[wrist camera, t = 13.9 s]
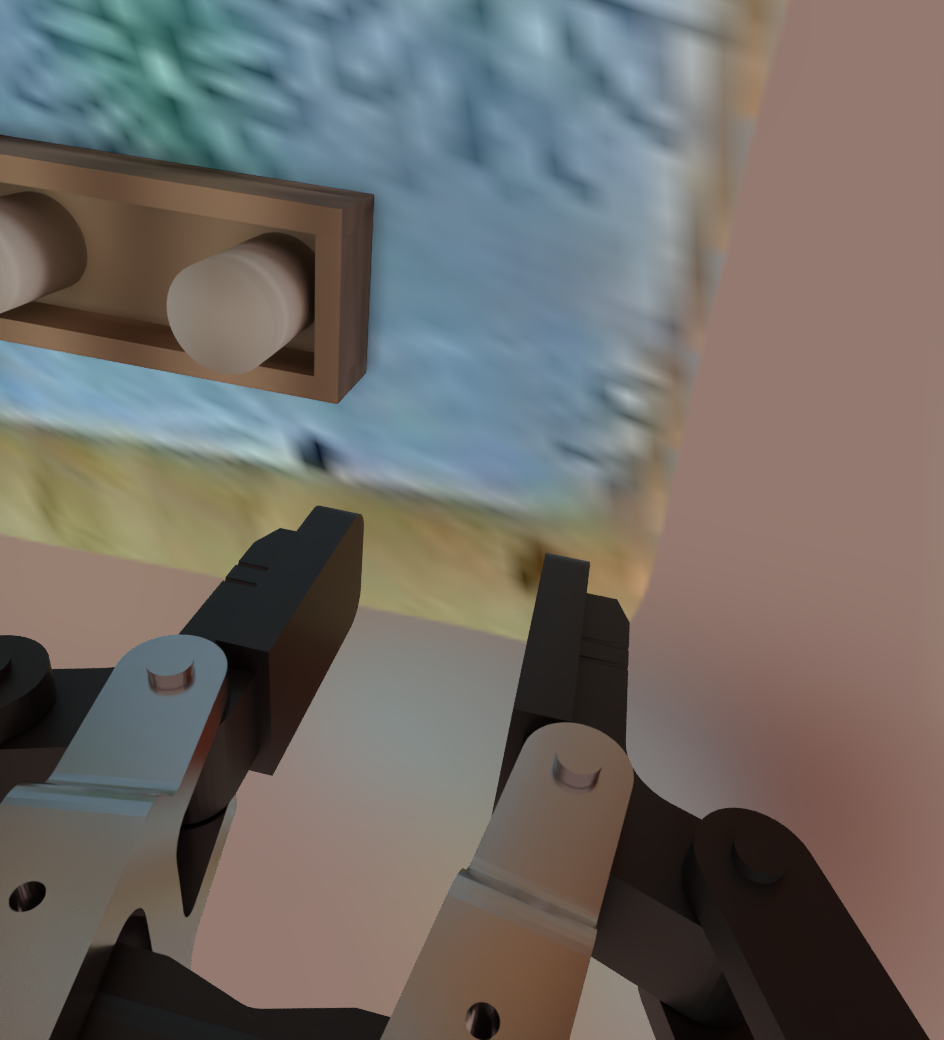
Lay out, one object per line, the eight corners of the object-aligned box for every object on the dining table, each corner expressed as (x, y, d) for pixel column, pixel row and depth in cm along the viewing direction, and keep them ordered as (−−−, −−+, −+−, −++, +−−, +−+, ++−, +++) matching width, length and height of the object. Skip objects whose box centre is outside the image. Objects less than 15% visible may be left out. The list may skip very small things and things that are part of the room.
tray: (374, 194, 24) (311, 224, 20) (365, 372, 28) (310, 433, 23) (-26, 130, 26) (-170, 145, 21) (9, 306, 29) (-109, 352, 25)
